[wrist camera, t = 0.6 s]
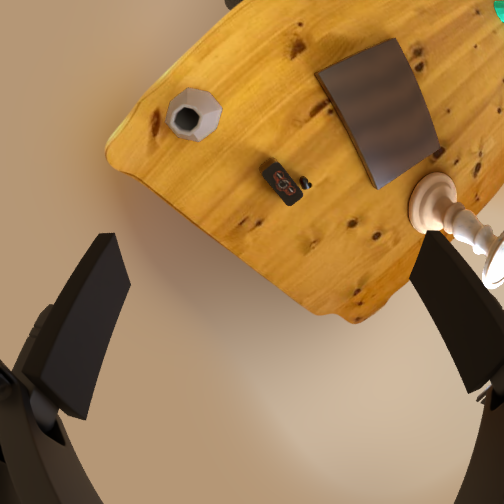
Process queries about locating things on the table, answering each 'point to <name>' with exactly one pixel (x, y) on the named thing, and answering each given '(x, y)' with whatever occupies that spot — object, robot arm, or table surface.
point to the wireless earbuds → (283, 181)
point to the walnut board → (381, 110)
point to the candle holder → (456, 223)
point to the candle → (499, 9)
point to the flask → (193, 114)
